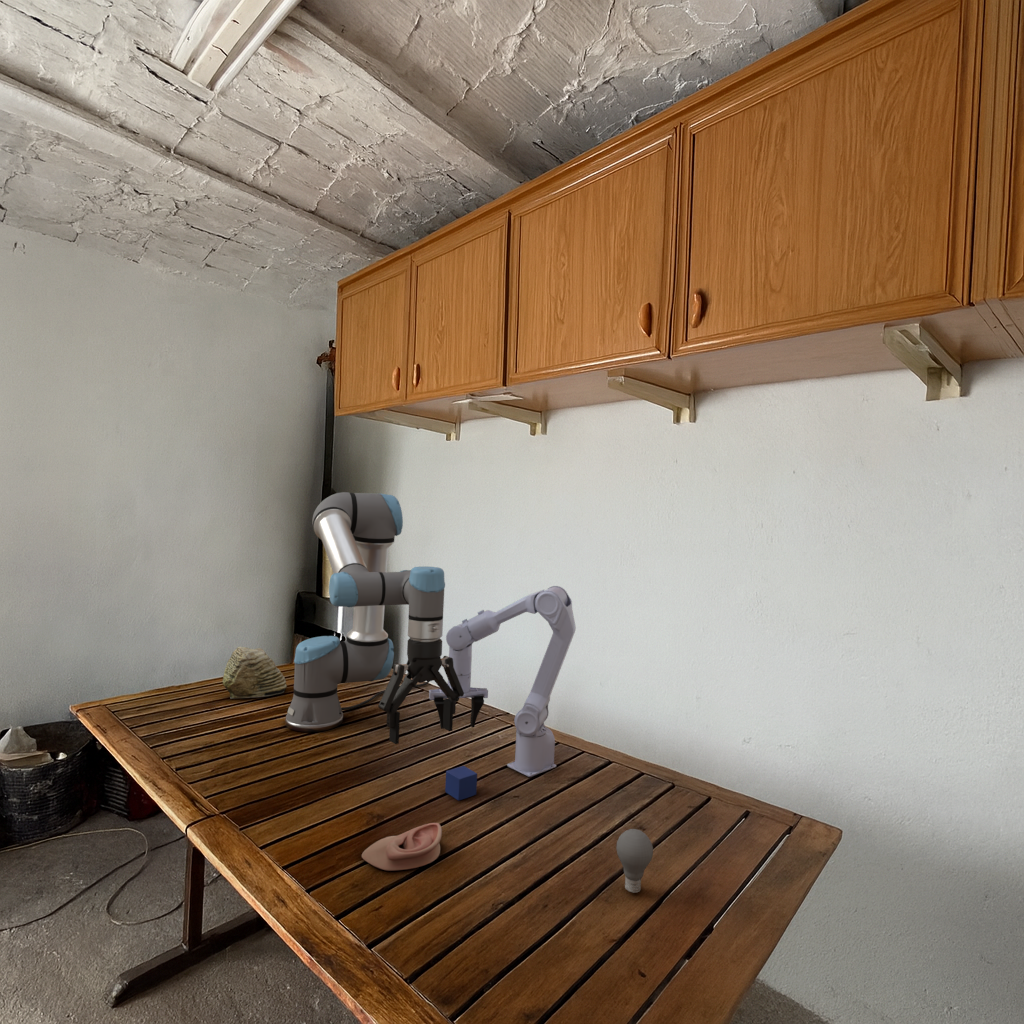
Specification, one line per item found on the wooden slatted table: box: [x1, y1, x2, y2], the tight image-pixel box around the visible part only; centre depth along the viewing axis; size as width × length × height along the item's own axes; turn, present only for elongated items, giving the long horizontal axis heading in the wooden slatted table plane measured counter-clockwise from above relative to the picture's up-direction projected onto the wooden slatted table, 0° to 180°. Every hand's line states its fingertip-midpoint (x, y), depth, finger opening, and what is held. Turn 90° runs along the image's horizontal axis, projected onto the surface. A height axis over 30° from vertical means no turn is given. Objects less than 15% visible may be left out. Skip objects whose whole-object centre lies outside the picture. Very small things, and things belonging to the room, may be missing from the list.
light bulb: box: [615, 828, 654, 894], centre depth 106 cm, size 6×6×10 cm
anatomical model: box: [361, 822, 443, 872], centre depth 114 cm, size 13×4×12 cm
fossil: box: [222, 646, 288, 699], centre depth 198 cm, size 9×18×15 cm, turn 132°
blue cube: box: [444, 765, 478, 801], centre depth 138 cm, size 5×5×5 cm
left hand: (421, 735), depth 138 cm, fingers open, 13 cm apart
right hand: (457, 726), depth 158 cm, fingers open, 7 cm apart
